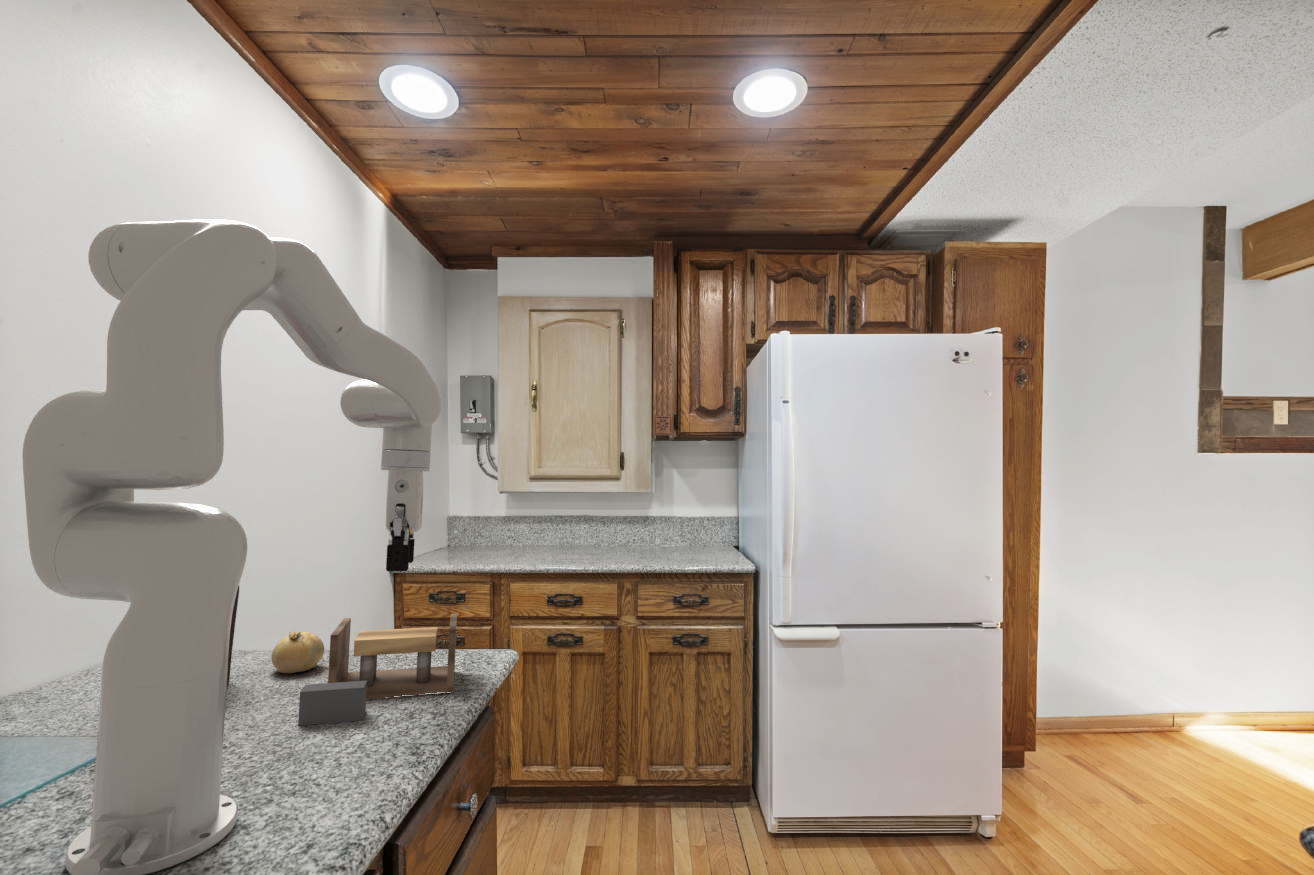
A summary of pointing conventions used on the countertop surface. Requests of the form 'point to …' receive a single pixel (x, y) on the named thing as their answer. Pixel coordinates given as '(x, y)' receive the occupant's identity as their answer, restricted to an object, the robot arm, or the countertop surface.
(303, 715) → the block
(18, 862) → the countertop surface
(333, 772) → the countertop surface
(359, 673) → the shelf cradle
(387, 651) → the oak board
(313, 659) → the onion
